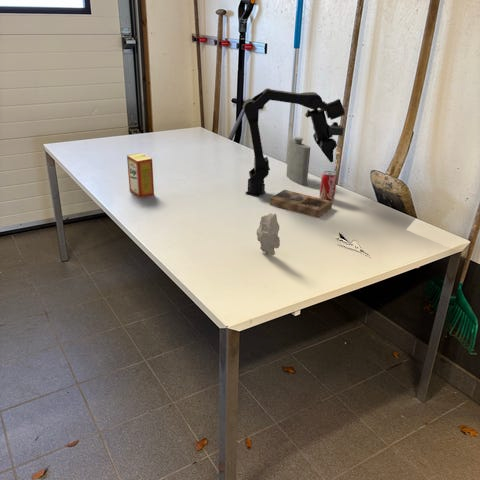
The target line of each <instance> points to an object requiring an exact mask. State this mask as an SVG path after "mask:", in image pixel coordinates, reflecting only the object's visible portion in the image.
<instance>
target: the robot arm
mask: <svg viewBox="0 0 480 480" xmlns="http://www.w3.org/2000/svg"><path fill="white" fill-rule="evenodd" d="M269 101H275V102H283V103H290V104H295V105H300V106H303V107H305V108H307V111H306V112H305V114H304V116H305V117H306V118H310V120H311V124H312V129H313V131H314V134H312V135H313V136H312V137H313V139H314V141H315V143H316V144H317V146H318V147H319V148H320V150H321V152H322V153H323V154H324V156H325V157H326V158H327V160H328V161H329V162H330V163H333V162H334V150H335V149H336V148H337V146H338V144H337V143H338V142H337V141H336V140H335V138H333V137H334V136H340V137H342V136H343V135H344V131H345V130H344V127H343V125H341V124H339V123H338V122H337V121H333V122H332V123H331V124H329V123H328V120H327V119H330V120H331V121H332V120H335V119H339V118H340V117H343V116H345V115H346V112H345V109H344V108H345V107H344V106H343V104H342V102H341V99H339V98H337V99H336V100H333V101H330V102H327V103H326V101H323V98H322V97H321V96H320V95H319V94H318V93H317V92H315V91H309V92H292V91H285V90H278V89H271V88H268V87H267V88H265V89H263V91H261V92H259V93H258V94H256V95H255V96H253V97H252V98H248V99H246V100H245V101H244V102H243V103H242V104H243V105H242V106H243V111H244V114H245V116H246V119H247V122H248V125H249V132H250V137H251V143H252V149H253V155H254V158H253V168H251V169H250V171H248V175H249V178H248V179H247V191H246V192H245V194H246V195H250V196H253V197H260V196H262V195H264V194H265V193H266V191H265V189H266V186H265V185H266V184H265V179H266V178H267V177H268V175H269V172H270V171H271V168H270V162H269V158H268V156H266V157H264V151H263V146H262V139H261V134H260V126H259V113H260V112H259V110H260V109H262V108H263V107H264V106H265V105H266V104H267V103H268V102H269ZM310 109H311V110H310Z"/></svg>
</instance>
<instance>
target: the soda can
mask: <svg viewBox="0 0 480 480" xmlns="http://www.w3.org/2000/svg"><path fill="white" fill-rule="evenodd" d="M337 180H338V175H337V172H335V171H332V170H325V171H323V173H322V174H321V178H320V189H319V197H318V198H320V199H324V200H328V201H332V202H333V201H334V200H335V197H336V189H337V187H336V186H337Z"/></svg>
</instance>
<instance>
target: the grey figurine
mask: <svg viewBox="0 0 480 480" xmlns="http://www.w3.org/2000/svg"><path fill="white" fill-rule="evenodd" d="M279 231H280V224H279V222H278V216H277V214H276V213H271V212H270V213H269V214H267V215H263V216H261V217H260V221H259V226H258V228H257V229H256V237H257V238H256V239H257V241H258V242H259V243H260V248H259V249H260V250H261V251H262V252H263V253H265V254H266V255H270V256H275V254H276V251H275V249H278V248H280V246H281V240H280V237H279V236H278V235H279Z"/></svg>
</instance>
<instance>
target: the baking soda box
mask: <svg viewBox="0 0 480 480" xmlns="http://www.w3.org/2000/svg"><path fill="white" fill-rule="evenodd" d="M126 158H127V159H126V160H127V161H126V162H127V171H128V185H129V186H128V187H129V192H130V191H131V193H132V192H133V193H132V194H134V195H135V194H136V195H135V196H137V197H138V196H139V197H138V198H141V197H142V198H146V197H149V196H150V197H151V196H154V195H155V188H154V186H155V185H154V168H153V159H152V158H151V157H149V156H147V155H146V154H144V153H135V154H129V155H126Z"/></svg>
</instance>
